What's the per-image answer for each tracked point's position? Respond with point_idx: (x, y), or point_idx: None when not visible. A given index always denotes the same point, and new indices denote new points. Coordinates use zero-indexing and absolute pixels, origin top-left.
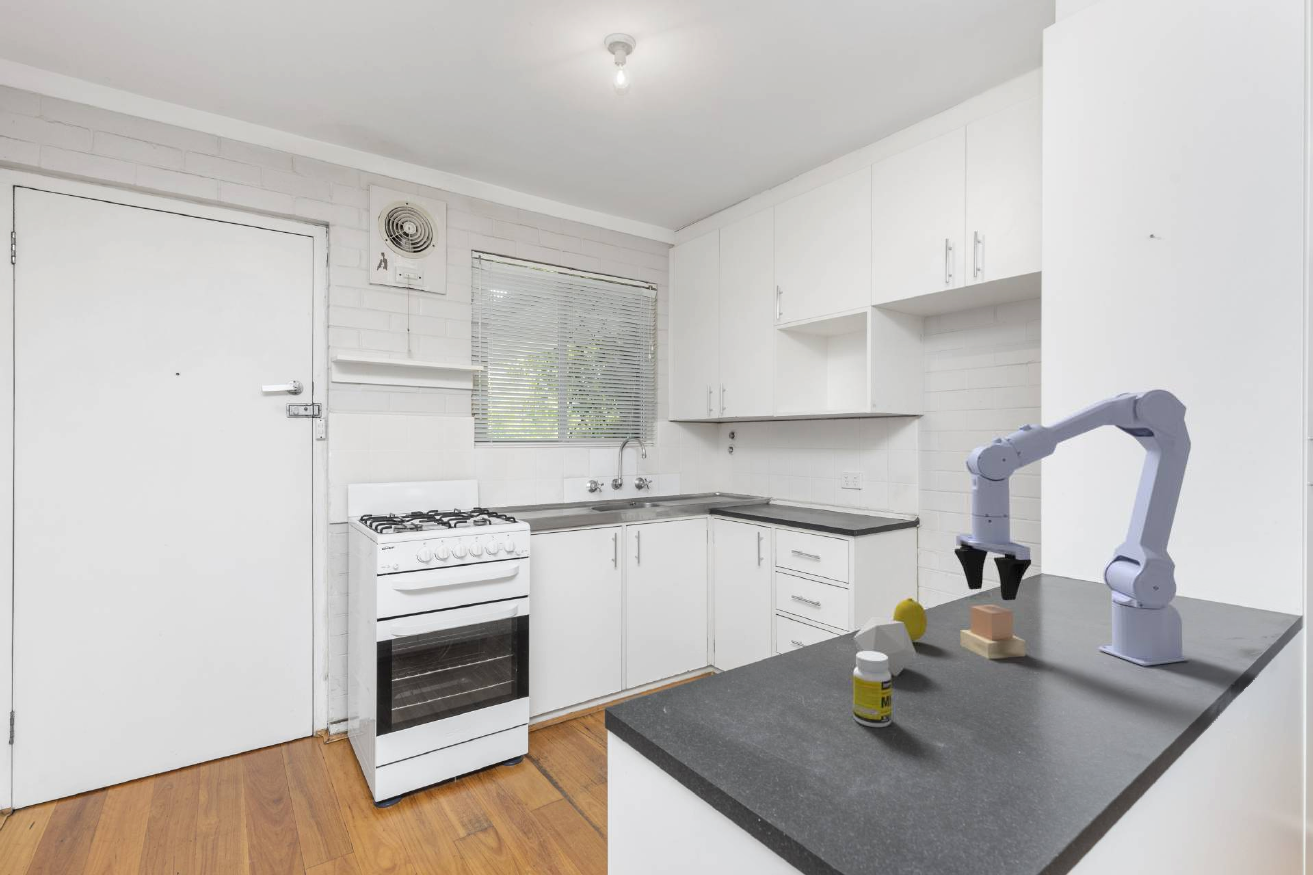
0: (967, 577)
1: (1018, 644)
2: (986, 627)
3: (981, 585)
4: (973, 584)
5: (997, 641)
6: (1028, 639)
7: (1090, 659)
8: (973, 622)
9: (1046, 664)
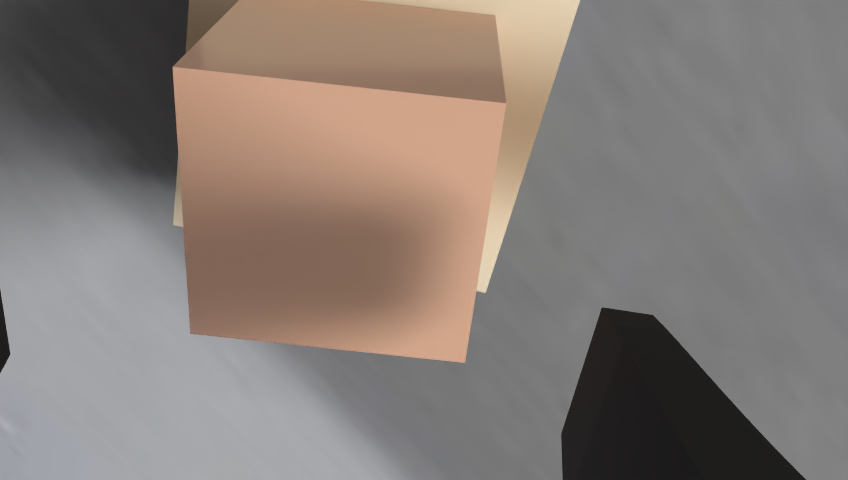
0: (698, 406)
1: None
2: (288, 19)
3: (565, 472)
4: (605, 384)
5: (216, 11)
6: (434, 430)
7: (68, 414)
8: (465, 43)
9: (40, 150)
